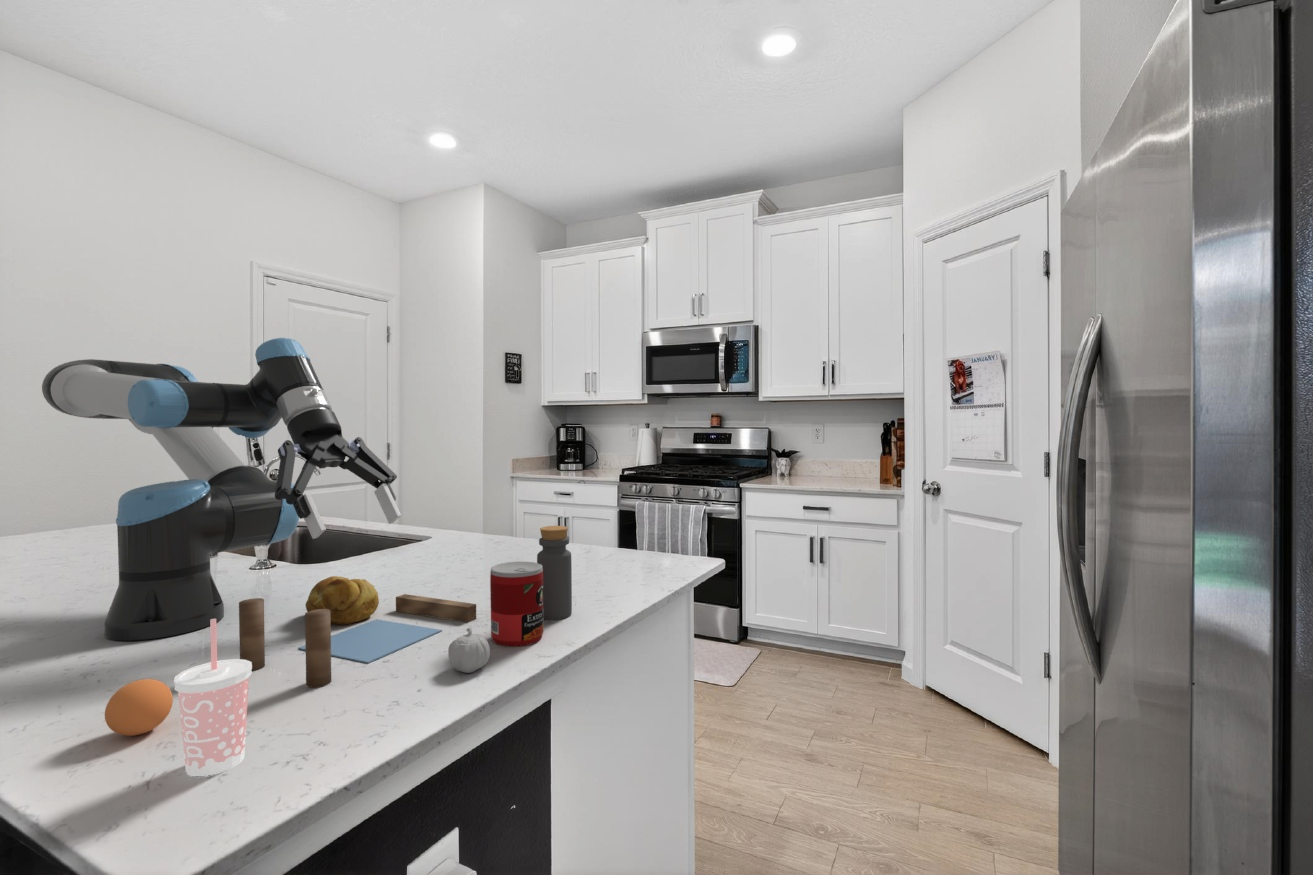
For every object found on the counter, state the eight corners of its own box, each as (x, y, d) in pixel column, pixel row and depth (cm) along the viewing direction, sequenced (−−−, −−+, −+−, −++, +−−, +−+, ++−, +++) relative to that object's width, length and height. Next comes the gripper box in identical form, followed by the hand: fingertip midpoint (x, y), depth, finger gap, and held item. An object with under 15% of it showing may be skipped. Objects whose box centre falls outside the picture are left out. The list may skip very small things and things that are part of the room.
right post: (300, 685, 75) (299, 614, 75) (321, 676, 78) (320, 607, 78) (316, 689, 74) (315, 616, 74) (336, 680, 77) (335, 610, 77)
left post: (235, 669, 80) (234, 602, 80) (256, 662, 83) (255, 597, 83) (248, 672, 79) (247, 605, 79) (269, 665, 82) (268, 599, 82)
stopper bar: (395, 611, 106) (395, 596, 106) (404, 607, 108) (404, 594, 107) (468, 622, 99) (468, 607, 99) (476, 618, 101) (476, 604, 101)
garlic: (457, 660, 84) (457, 622, 84) (496, 660, 83) (495, 623, 83) (440, 678, 78) (440, 638, 78) (482, 678, 77) (481, 638, 77)
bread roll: (292, 619, 102) (291, 572, 102) (347, 604, 110) (347, 561, 110) (333, 633, 95) (333, 582, 95) (389, 616, 103) (389, 570, 103)
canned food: (531, 649, 87) (531, 574, 87) (481, 645, 89) (480, 571, 89) (551, 631, 95) (550, 562, 95) (504, 628, 97) (503, 560, 96)
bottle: (530, 617, 102) (529, 529, 101) (549, 607, 107) (548, 524, 107) (560, 621, 100) (559, 531, 99) (578, 611, 105) (577, 526, 105)
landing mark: (298, 648, 88) (298, 647, 88) (376, 620, 101) (376, 619, 101) (368, 663, 82) (368, 661, 82) (441, 631, 95) (441, 629, 95)
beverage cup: (159, 773, 56) (156, 625, 56) (226, 741, 62) (224, 606, 62) (203, 787, 54) (200, 633, 54) (268, 753, 60) (266, 613, 60)
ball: (93, 739, 62) (92, 687, 62) (154, 716, 68) (153, 667, 67) (123, 750, 60) (122, 696, 60) (184, 725, 65) (183, 675, 65)
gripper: (241, 405, 90) (294, 528, 85) (385, 406, 112) (433, 503, 107) (219, 433, 93) (269, 553, 88) (364, 429, 115) (410, 524, 110)
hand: (359, 526), depth 98 cm, fingers open, 13 cm apart
